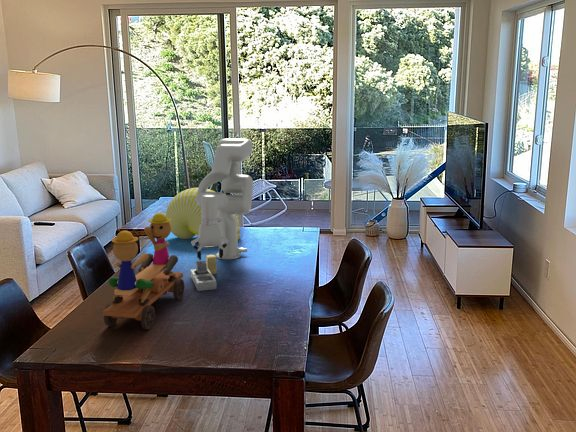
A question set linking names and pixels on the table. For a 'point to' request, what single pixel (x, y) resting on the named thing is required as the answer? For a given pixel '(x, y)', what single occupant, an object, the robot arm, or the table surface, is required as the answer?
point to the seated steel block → (201, 267)
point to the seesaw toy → (143, 275)
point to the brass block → (211, 263)
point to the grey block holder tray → (203, 280)
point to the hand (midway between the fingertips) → (210, 258)
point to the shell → (187, 214)
